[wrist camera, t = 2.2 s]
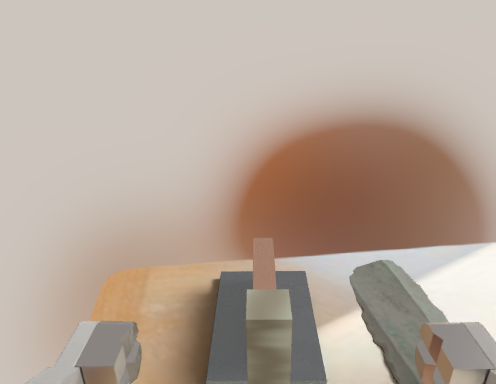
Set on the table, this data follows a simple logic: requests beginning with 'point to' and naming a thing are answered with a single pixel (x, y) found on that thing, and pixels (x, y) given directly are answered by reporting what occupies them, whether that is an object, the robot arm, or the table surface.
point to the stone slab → (394, 314)
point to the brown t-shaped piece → (268, 336)
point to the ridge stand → (234, 321)
